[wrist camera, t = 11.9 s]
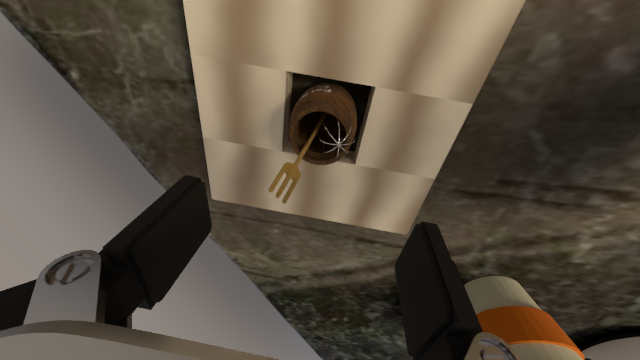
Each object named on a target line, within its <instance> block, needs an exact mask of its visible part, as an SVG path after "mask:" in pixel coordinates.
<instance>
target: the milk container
mask: <svg viewBox="0 0 640 360" xmlns="http://www.w3.org/2000/svg"><path fill="white" fill-rule="evenodd" d="M579 350H580V351H581V352H582V353H583V355H584V358H585V360H640V333H629V334H622V335H616V336H610V337H606V338H603V339H599V340H596V341H593V342H590V343H588V344H587V345H585V346H583V347H581V348H579Z"/></svg>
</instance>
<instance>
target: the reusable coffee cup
mask: <svg viewBox="0 0 640 360" xmlns="http://www.w3.org/2000/svg"><path fill="white" fill-rule="evenodd" d="M464 286H465V289H466V291H467V294H468V296H469V298H470V301H471V303H472V306H473V308H474V311H475V313H476V315H477V318H478V320H479V323H480V325H481V327H482V330H483V332H487V333H491V334H494V335H496V336H498V337H500V338H501V339H503V340H504V341H506V342H507V343H508V344H509V345H510V346H511V347H512V348H513V349H514V350H515V352H516V353H517V354H518V355H519V357H520V358H521V360H585V358H584V355H583V353H582V352H581V351H580V350H579V349H578V347H577V346H576V345H575V344H574V343H573V342H572V340H571V339H570V338H569V337H568V336H567V335H566V333H565V332H564V331H563V330H562V329H561V328H560V326H559V325H558V324H557V323H556V322H555V321H554V319H553V318H552V317H551V316H550V315H549V314H548V313H546V312H544V311H542V310H541V309H540V308H539V307H538V306H537V304H536V303H535V302H534V301H533V300H532V298H531V297H530V296H529V295H528V294H527V293H526V291H525V290H524V289H523V288H522V287H521V285H520V284H519V283H518V282H517V281H515V280H513V279H511V278H508V277H503V276H487V277H482V278H478V279H475V280H472V281H470V282H468V283H466V284H465V285H464Z"/></svg>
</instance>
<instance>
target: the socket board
mask: <svg viewBox="0 0 640 360" xmlns="http://www.w3.org/2000/svg"><path fill="white" fill-rule="evenodd" d="M524 2H525V0H183V5H184V12H185V19H186V26H187V32H188V39H189V46H190V53H191V60H192V67H193V73H194V80H195V87H196V94H197V101H198V107H199V114H200V121H201V128H202V135H203V141H204V148H205V155H206V162H207V169H208V175H209V182H210V189H211V196H212V199H213V200H219V201H224V202H230V203H235V204H241V205H246V206H251V207H257V208H262V209H268V210H273V211H279V212H284V213H290V214H295V215H301V216H306V217H312V218H317V219H322V220H328V221H333V222H339V223H344V224H350V225H355V226H361V227H366V228H372V229H377V230H383V231H388V232H393V233H399V234H404V235H407V234H408V232H409V230H410V228H411V226H412V224H413V222H414V220H415V218H416V216H417V214H418V212H419V210H420V208H421V206H422V204H423V202H424V200H425V198H426V196H427V194H428V192H429V190H430V188H431V186H432V184H433V182H434V180H435V178H436V176H437V174H438V172H439V170H440V168H441V166H442V164H443V162H444V160H445V158H446V156H447V155H448V153H449V151H450V149H451V147H452V145H453V143H454V141H455V139H456V137H457V135H458V133H459V131H460V129H461V127H462V125H463V123H464V121H465V119H466V117H467V115H468V113H469V111H470V109H471V107H472V105H473V103H474V101H475V99H476V97H477V95H478V93H479V91H480V89H481V87H482V85H483V83H484V81H485V79H486V77H487V75H488V74H489V72H490V70H491V68H492V66H493V64H494V62H495V60H496V58H497V56H498V54H499V52H500V50H501V48H502V46H503V44H504V42H505V40H506V38H507V36H508V34H509V32H510V30H511V28H512V26H513V24H514V22H515V20H516V18H517V16H518V14H519V12H520V10H521V8H522V6H523V4H524ZM293 72H294V73H300V74H305V75H311V76H317V77H322V78H328V79H334V80H339V81H345V82H351V83H356V84H362V85H368V86H371V89H370V93H369V97H368V101H367V105H366V109H365V113H364V117H363V121H362V125H361V129H360V133H359V137H358V141H357V145H356V148H355V152H354V151H349V150H348V151H349V153H346V154H345V155H344V156H343V157H342V158H341V159H340V160H338V161H337V162H335V163H332V164H328V165H315V164H311V163H308V162H306V161H304V160H303V159H301V161H300V163H299V165H298V169H299V171H300V173H301V177H300V178H299V180H298V182H297V184H296V186H295V188H294V189H293V191H292V193H291V195H290V197H289V199H288V200H287V202H286V203H285V204H283V203H282V200H283V198H284V196H285V194H286V193H287V191H288V189H289V187H290V185H291V183H292V181H293V180H292V179H291V178H290V180H289V182H288V184H287V185H286V187H285V189H284V190H283V192H282V194H281V196H280V197H279V198H276V196H275V195H276V193H277V191H278V190H279V188H280V186H281V184H282V183H283V181H284V179H285V178H286V176H287V175H286V173H284V174H283V176H282V177H281V179H280V181H279V182H278V184H277V185H276V187H275V189H274V190H273V192H269V190H268V189H269V188H270V186H271V184H272V183H273V181H274V180H275V178H276V176H277V175H278V173H279V172H280V170H281V168H282V167H283V165H284V164H285V163H286V162H290V163H293V164H294V162H295V161H296V159H297V157H298V155H297V154H296V153H295V152H294V150H293V148H292V147H291V144H290V141H289V140H288V135H289V121H290V108H291V94H292V80H293ZM348 151H347V152H348Z"/></svg>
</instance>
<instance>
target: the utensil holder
mask: <svg viewBox="0 0 640 360" xmlns="http://www.w3.org/2000/svg"><path fill="white" fill-rule="evenodd" d="M356 128H357V114H356V107H355V103H354V100H353V98H352V97H351V95H350V94H349V92H348V91H347V90H346V89H344V88H343V87H341V86H340V85H337V84H335V83H329V82H324V83H319V84H316V85H314V86H312V87H310V88H309V89H308V90H307V91H306V92H305V93H304V94H303V95H302V96H301V97H300V99H299V100H298V102H297V103H296V105H295V107H294V109H293V111H292V114H291V119H290V125H289V141H290V144H291V147H292V148H293V150H294V152H295V153H296V154H297V155H298V157H297V159H296V161H295V162H294V164H293V163H290V162H286V163H285V164H284V165H283V167H282V168H281V170H280V172H279V173H278V175H277V176H276V178H275V180H274V181H273V183H272V184H271V186H270V188H269V189H268V190H269V192H273V190H274V189H275V187H276V185H277V184H278V182H279V181H280V179H281V177H282V176H283V174H284V173H286V175H287V176H286V178H285V179H284V181H283V183H282V184H281V186H280V188H279V190H278V191H277V193H276V195H275V196H276V198H279V197H280V196H281V194H282V192H283V190H284V189H285V187H286V185H287V184H288V182H289V180H290V178H291V179H292V180H293V181H292V183H291V185H290V187H289V189H288V191H287V193H286V194H285V196H284V198H283V200H282V203H283V204H285V203H286V202H287V200H288V199H289V197H290V195H291V193H292V191H293V189H294V188H295V186H296V184H297V182H298V180H299V178H300V177H301V173H300V171H299V169H298V165H299V163H300V161H301V159H303V160H304V161H306V162H308V163H311V164H315V165H328V164H332V163H335V162H337V161H338V160H340V159H341V158H342V157H343V156H344V155H345V154H346V153H349V151H348V150H349V148H350V146H351V144H352V143H354V142H355V139H354V142H352V140H353V138H354V136H355V133H356ZM347 151H348V152H347Z"/></svg>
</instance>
